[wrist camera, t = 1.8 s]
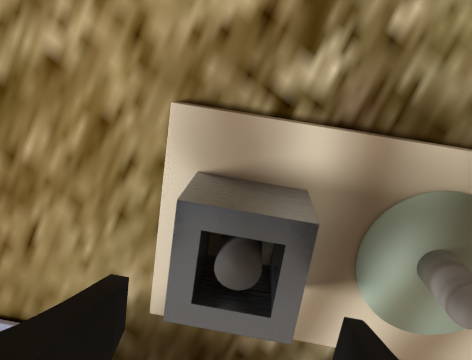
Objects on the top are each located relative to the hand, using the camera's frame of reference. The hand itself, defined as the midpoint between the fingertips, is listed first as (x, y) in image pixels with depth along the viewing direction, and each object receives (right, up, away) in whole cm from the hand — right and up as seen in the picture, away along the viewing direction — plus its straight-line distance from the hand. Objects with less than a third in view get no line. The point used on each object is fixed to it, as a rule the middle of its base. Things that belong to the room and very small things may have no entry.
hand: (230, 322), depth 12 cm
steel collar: (+1, +2, +7) cm, 8 cm away
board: (+6, +1, +8) cm, 10 cm away
